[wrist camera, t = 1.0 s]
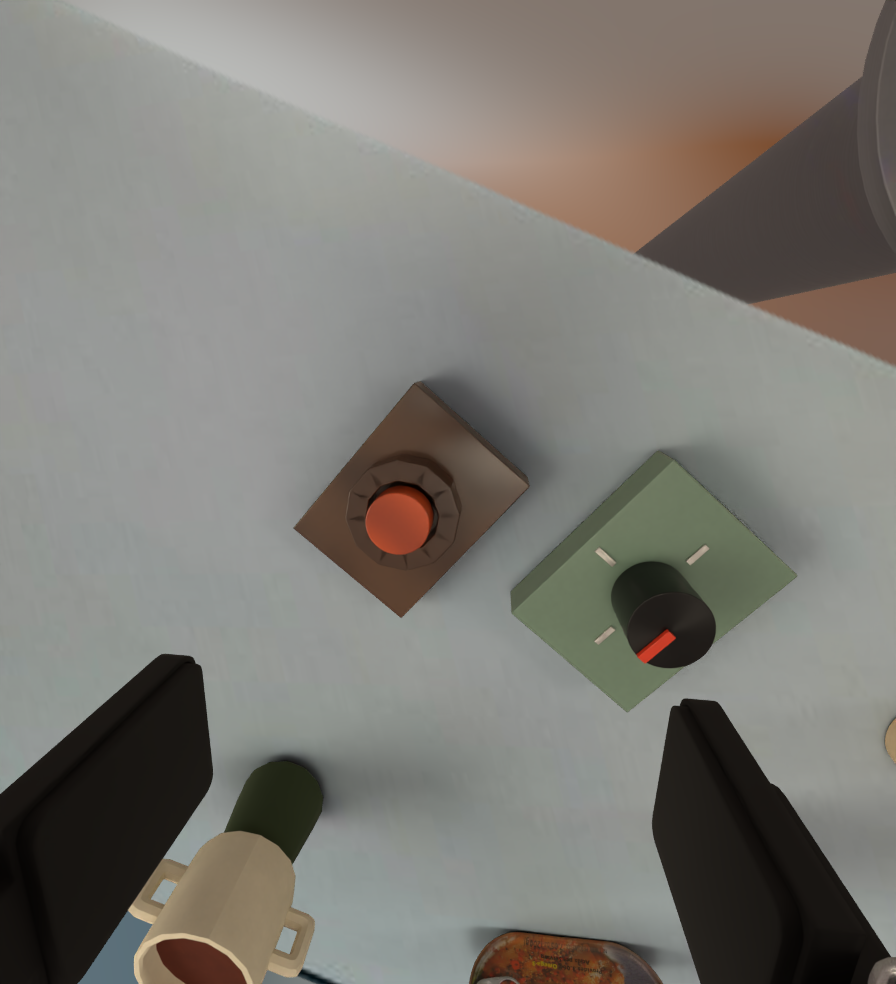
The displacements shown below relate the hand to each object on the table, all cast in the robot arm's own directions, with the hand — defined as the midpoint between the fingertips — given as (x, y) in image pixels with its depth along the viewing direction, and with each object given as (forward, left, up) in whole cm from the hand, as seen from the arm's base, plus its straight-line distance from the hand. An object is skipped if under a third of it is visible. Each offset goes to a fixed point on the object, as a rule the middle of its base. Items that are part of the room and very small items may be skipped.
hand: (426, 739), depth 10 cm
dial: (-2, +12, -20) cm, 23 cm away
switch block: (+4, -2, -23) cm, 24 cm away
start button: (+4, -2, -19) cm, 20 cm away
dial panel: (-2, +12, -23) cm, 26 cm away
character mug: (+29, +6, -23) cm, 38 cm away
